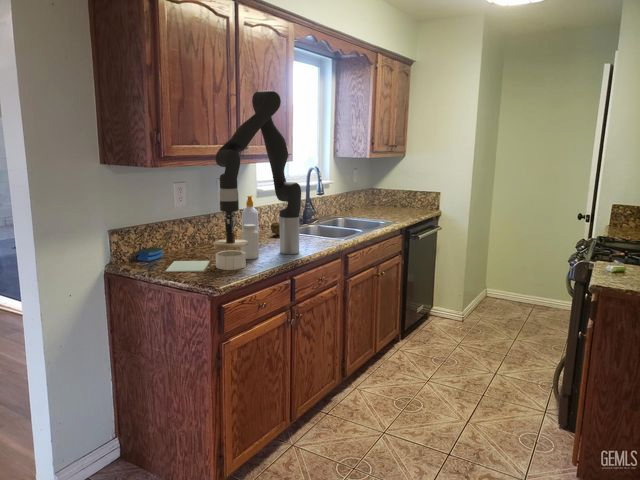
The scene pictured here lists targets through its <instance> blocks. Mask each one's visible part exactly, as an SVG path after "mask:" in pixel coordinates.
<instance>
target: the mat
mask: <svg viewBox="0 0 640 480" xmlns="http://www.w3.org/2000/svg"><path fill="white" fill-rule="evenodd" d="M209 264H210V260H174V261H172V263H171V264H170V265H169V266H168V267H167V268H166V270H164V273H203V272H205V271H206V269H207V267H208V265H209Z"/></svg>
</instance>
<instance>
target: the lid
mask: <svg viewBox="0 0 640 480" xmlns="http://www.w3.org/2000/svg"><path fill="white" fill-rule="evenodd" d="M235 235H236V232H235V229H234V230H233V241H232V242H227V232H226V231H225V239H219V240H215V241H213V247H214V248H219V249H238V248H241V247H244V246H247V245H248V241H246V240H241V238H240V239H239V238H236V236H235Z"/></svg>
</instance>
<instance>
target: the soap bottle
mask: <svg viewBox="0 0 640 480" xmlns="http://www.w3.org/2000/svg"><path fill="white" fill-rule="evenodd" d="M252 199H253V195H252V194H251V195H248V196H247V200H246V203H245V204H246V206H245V208H243V210H242V212H241V232H242V231H244V225H245V224H254V225H256V228H255V230H256V231H257V232H258V233H259V213H258V210H257V208H255V207H254V201H253V200H252Z"/></svg>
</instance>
